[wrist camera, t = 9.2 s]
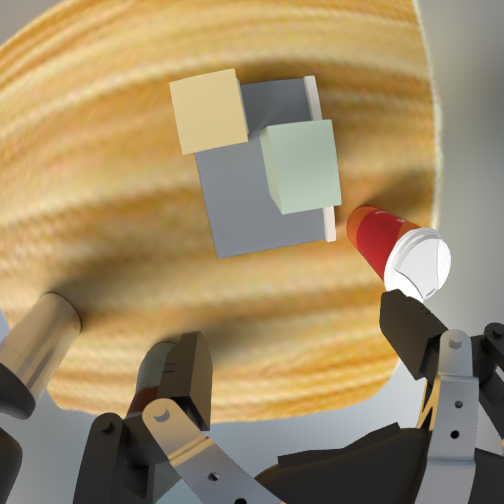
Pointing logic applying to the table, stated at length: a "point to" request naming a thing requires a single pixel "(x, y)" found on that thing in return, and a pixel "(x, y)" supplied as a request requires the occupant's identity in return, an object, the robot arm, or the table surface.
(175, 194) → the table surface
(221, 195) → the display board
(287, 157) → the tea box
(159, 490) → the bottle
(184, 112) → the mustard box
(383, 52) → the table surface
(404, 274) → the paper cup
